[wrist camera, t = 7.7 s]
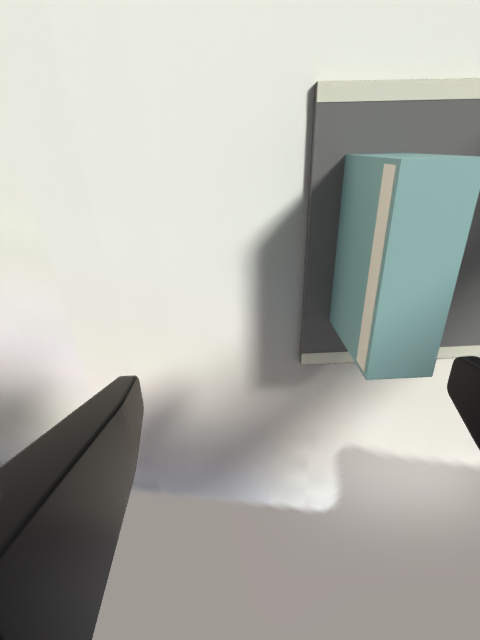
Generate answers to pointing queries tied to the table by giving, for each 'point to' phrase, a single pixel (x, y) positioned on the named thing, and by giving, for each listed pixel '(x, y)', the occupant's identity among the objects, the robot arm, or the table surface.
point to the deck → (400, 257)
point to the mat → (379, 138)
